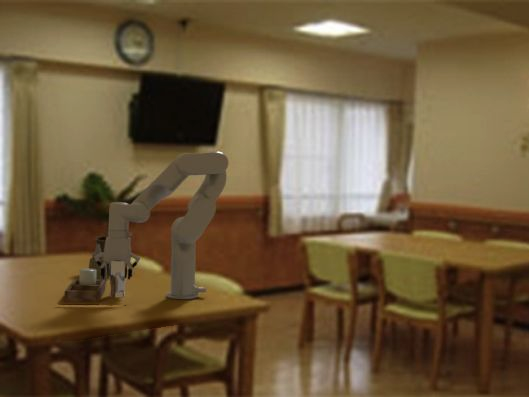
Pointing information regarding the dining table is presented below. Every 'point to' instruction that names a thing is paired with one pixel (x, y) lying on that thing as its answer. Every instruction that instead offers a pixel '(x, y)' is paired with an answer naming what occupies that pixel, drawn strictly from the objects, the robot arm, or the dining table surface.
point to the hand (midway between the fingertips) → (116, 278)
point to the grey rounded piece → (87, 277)
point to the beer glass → (117, 278)
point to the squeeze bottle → (94, 264)
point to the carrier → (84, 292)
